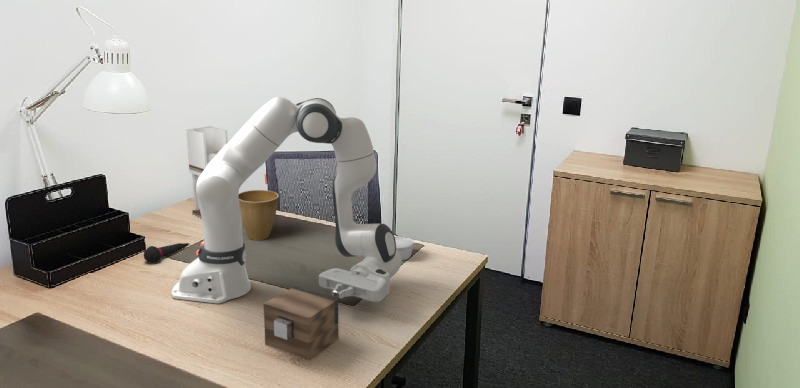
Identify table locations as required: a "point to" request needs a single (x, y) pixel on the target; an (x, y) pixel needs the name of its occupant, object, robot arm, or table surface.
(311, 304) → the block
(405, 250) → the ramekin
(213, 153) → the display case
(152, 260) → the microphone
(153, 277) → the table surface
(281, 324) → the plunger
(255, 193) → the plant pot
